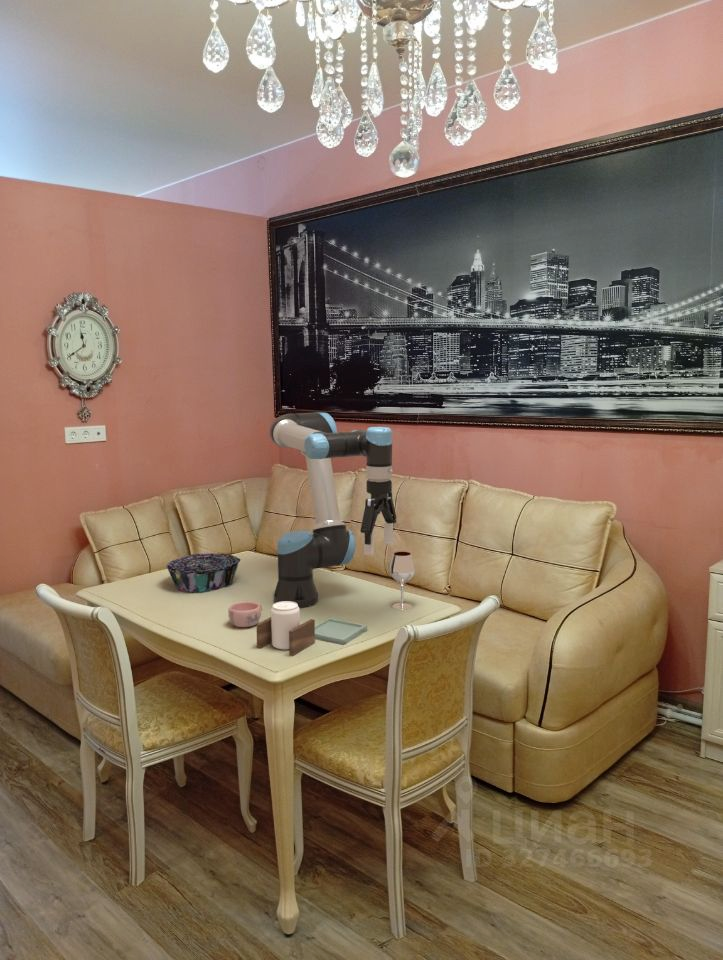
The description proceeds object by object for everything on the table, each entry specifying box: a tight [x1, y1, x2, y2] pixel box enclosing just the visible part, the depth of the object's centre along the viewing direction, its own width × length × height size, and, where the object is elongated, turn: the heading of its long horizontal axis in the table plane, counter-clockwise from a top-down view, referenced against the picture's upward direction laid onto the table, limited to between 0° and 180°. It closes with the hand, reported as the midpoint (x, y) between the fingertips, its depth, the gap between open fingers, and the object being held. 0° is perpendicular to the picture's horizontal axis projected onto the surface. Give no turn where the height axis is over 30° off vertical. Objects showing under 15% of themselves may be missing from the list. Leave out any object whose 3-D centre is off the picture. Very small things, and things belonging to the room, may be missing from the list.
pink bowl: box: [227, 601, 263, 628], centre depth 233 cm, size 12×10×6 cm
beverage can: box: [270, 601, 301, 651], centre depth 215 cm, size 8×8×12 cm
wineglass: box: [389, 551, 416, 611], centre depth 247 cm, size 8×8×18 cm
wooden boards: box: [255, 616, 316, 657], centre depth 215 cm, size 12×11×7 cm
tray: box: [315, 617, 368, 646], centre depth 225 cm, size 14×14×2 cm
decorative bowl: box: [165, 552, 241, 594], centre depth 274 cm, size 26×28×10 cm
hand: (378, 549), depth 227 cm, fingers open, 13 cm apart
